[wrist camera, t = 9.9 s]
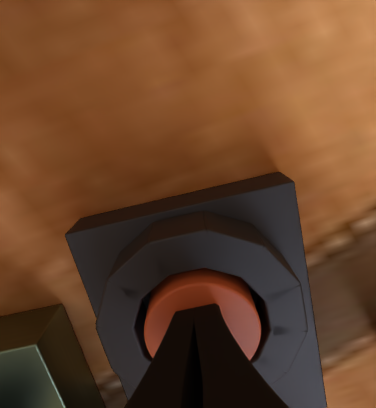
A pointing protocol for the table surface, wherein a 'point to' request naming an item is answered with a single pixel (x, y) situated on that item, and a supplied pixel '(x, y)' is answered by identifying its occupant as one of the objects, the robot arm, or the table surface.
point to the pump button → (199, 296)
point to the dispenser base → (212, 259)
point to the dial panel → (43, 362)
